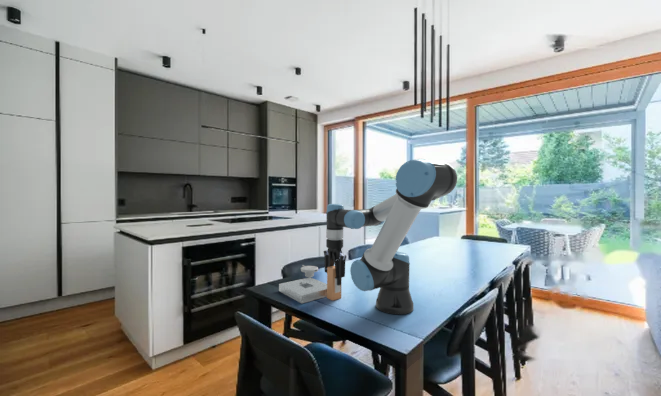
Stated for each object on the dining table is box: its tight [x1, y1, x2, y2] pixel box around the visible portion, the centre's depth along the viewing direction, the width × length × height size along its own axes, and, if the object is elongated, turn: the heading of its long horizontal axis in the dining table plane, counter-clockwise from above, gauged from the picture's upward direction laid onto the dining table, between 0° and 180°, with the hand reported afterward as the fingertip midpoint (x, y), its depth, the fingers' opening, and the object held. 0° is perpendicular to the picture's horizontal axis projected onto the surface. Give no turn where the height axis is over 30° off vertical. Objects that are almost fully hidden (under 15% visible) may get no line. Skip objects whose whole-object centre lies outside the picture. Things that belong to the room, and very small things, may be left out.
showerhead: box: [300, 264, 319, 278], centre depth 162 cm, size 9×7×10 cm
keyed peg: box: [326, 265, 343, 301], centre depth 133 cm, size 5×4×14 cm
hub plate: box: [278, 277, 327, 305], centre depth 140 cm, size 20×18×4 cm
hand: (334, 290), depth 133 cm, fingers closed on keyed peg, 4 cm apart
